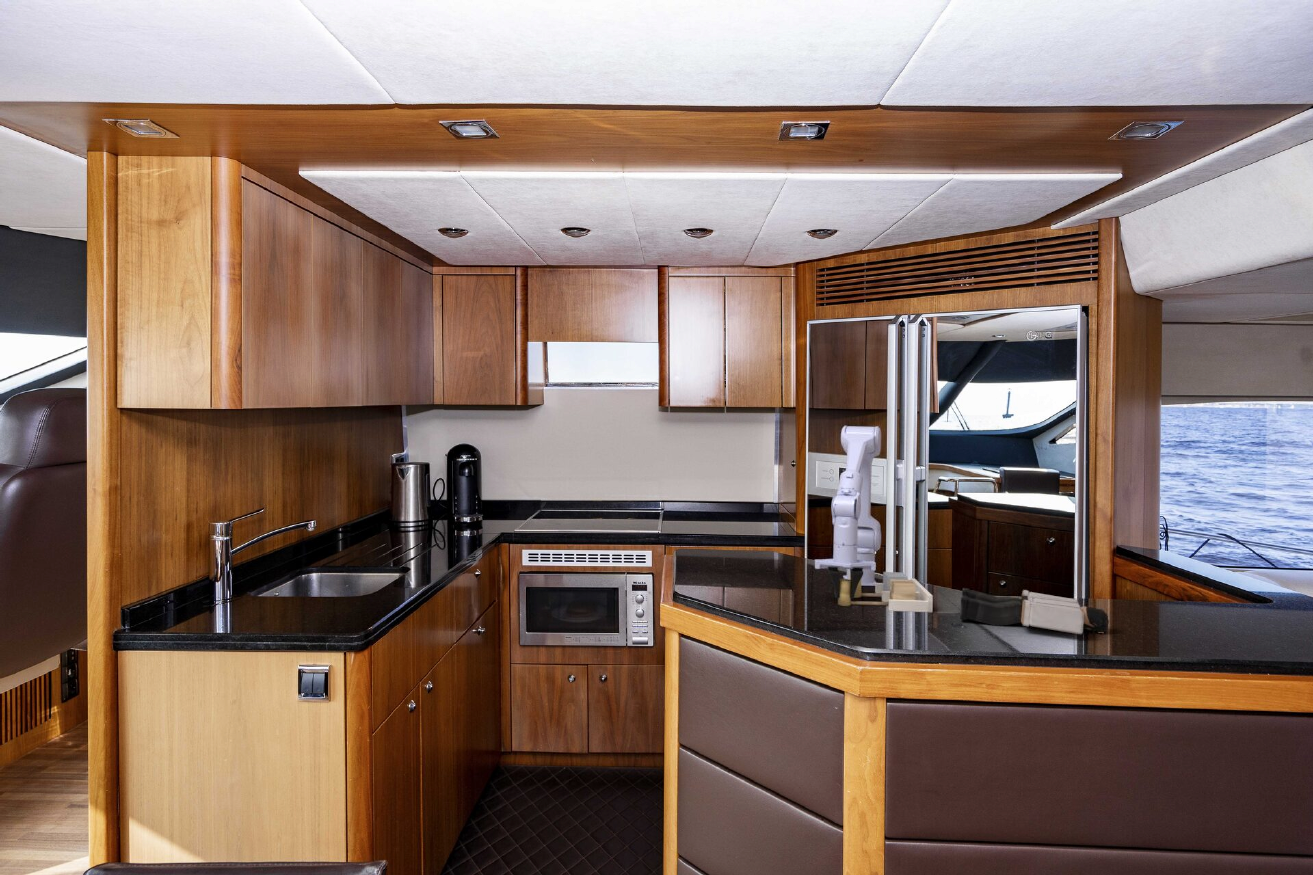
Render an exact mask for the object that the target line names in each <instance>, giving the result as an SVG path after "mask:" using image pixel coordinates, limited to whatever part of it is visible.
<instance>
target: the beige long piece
mask: <svg viewBox="0 0 1313 875" xmlns="http://www.w3.org/2000/svg"><path fill="white" fill-rule="evenodd" d="M915 591H916V585H915V584H914V583H913V582H912V581H911V579H908V580H893V579H890V599H892V600H915ZM837 605H839V606H842V607H843V606H844V607H849V606H851V605H861V606H862V605H863V606H888V607H889V602H882V601H867V600H866V601H862V600H860V601H859V600H852V599H851V580H849V579H844V578H839V599H837Z"/></svg>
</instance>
